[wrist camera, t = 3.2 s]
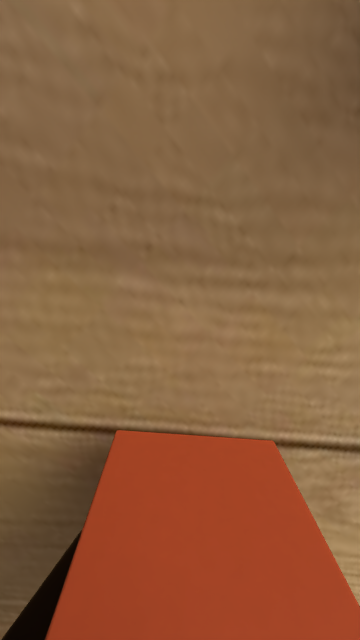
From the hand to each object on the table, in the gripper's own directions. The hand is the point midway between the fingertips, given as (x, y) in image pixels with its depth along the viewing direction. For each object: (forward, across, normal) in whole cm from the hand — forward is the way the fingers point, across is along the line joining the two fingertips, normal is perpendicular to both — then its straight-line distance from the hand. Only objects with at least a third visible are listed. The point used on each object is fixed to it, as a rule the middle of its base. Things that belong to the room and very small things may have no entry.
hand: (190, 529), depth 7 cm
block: (+1, 0, 0) cm, 1 cm away
